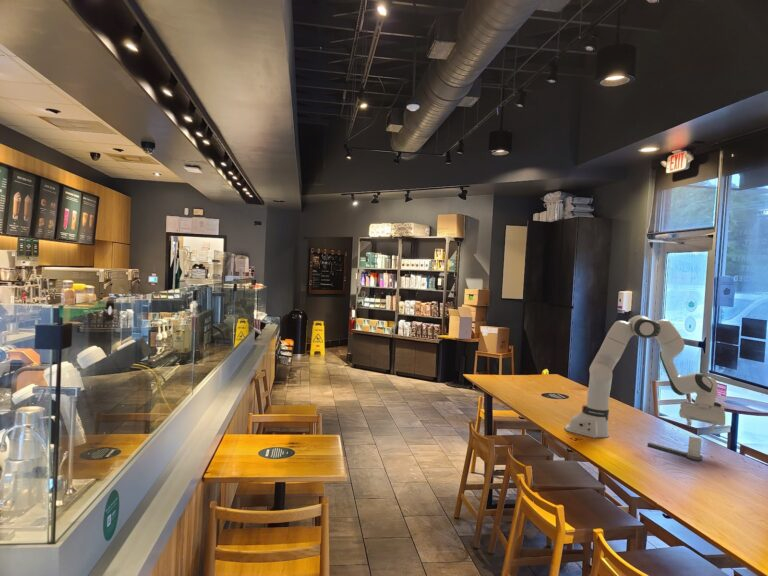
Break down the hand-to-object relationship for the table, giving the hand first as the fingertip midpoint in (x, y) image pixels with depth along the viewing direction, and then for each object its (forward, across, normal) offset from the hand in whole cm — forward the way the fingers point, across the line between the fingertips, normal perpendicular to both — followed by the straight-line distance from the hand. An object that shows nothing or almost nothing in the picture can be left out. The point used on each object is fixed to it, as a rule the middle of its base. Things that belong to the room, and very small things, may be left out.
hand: (699, 427), depth 264 cm
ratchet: (+16, -9, +2) cm, 18 cm away
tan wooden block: (+16, 0, 0) cm, 16 cm away
